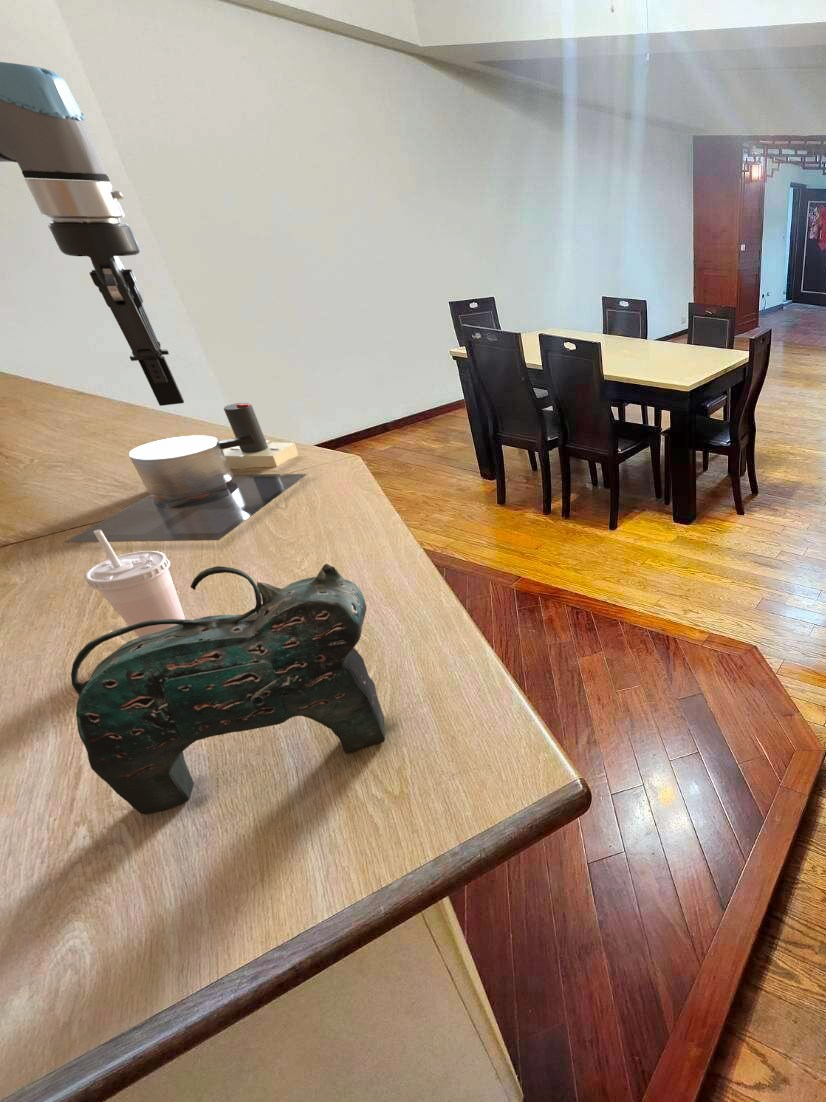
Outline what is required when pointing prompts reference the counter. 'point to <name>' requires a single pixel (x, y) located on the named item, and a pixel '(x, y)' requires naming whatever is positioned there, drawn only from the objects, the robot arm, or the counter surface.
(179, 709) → the ceramic cat
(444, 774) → the counter surface
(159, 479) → the saucepan
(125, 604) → the smoothie
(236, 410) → the dark grey cylinder
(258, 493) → the hob
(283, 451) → the cream base block
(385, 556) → the counter surface
